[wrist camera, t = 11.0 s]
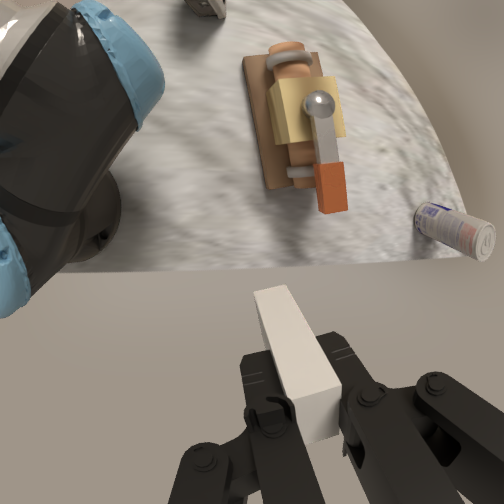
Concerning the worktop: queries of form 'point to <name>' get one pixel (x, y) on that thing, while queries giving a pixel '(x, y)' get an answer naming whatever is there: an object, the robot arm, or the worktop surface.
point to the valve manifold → (287, 111)
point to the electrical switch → (208, 7)
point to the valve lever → (326, 153)
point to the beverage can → (456, 230)
